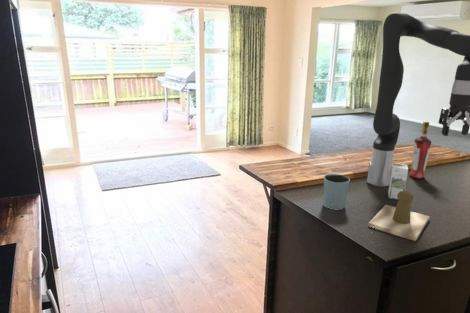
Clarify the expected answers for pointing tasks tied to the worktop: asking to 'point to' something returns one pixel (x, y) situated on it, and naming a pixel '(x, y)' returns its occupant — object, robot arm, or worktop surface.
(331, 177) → the blue-grey cup
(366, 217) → the worktop surface
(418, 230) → the birch board
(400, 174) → the syrup box
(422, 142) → the liquor
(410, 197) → the cork
